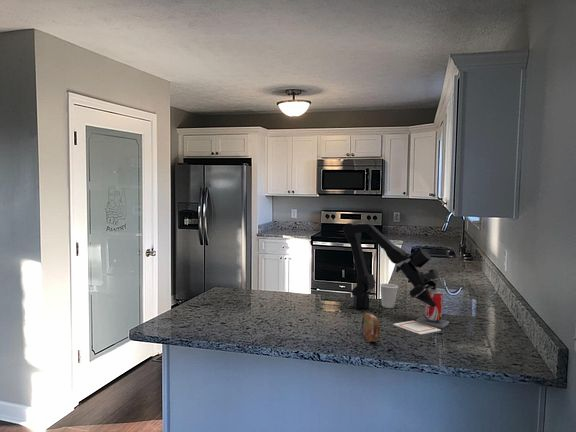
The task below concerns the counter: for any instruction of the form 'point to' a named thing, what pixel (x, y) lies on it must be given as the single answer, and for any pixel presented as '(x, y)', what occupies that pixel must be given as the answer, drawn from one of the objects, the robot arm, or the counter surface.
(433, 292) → the soda can
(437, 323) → the ink pad
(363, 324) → the brown oval slab
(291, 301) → the counter surface
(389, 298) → the dixie cup
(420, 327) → the print card
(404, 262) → the robot arm
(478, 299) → the counter surface
